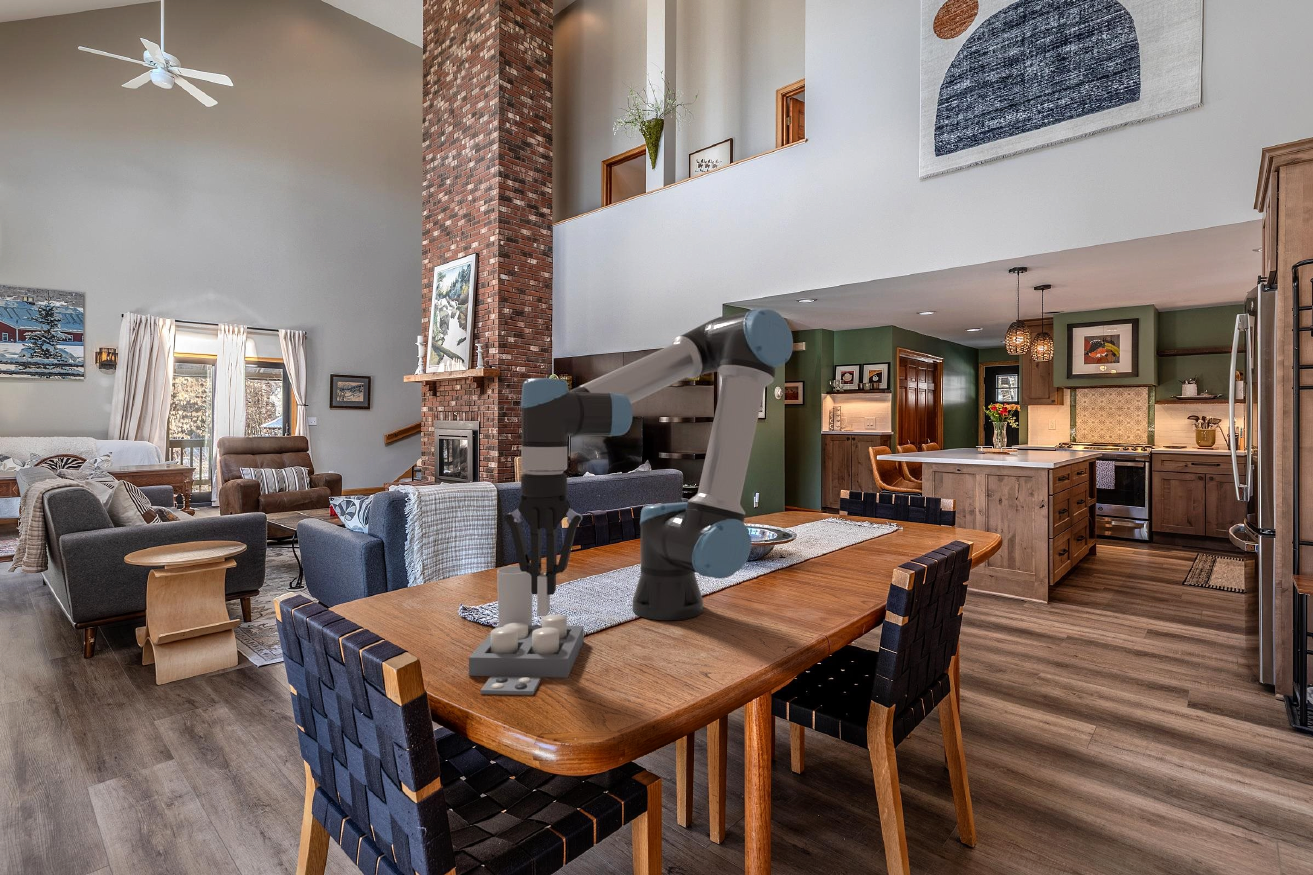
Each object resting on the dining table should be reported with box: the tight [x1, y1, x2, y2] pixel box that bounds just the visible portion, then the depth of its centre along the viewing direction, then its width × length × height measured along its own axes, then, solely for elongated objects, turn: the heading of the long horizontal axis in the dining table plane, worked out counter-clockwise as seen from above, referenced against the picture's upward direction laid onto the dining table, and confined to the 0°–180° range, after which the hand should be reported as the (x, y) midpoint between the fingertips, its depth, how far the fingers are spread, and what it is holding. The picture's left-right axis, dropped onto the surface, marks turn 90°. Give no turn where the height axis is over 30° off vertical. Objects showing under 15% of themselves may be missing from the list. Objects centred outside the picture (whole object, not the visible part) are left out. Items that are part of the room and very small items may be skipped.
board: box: [468, 624, 585, 679], centre depth 110 cm, size 16×16×3 cm
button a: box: [541, 614, 568, 639], centre depth 113 cm, size 4×4×4 cm
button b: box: [503, 623, 528, 639], centre depth 114 cm, size 4×4×4 cm
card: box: [480, 676, 542, 696], centre depth 98 cm, size 8×5×1 cm, turn 87°
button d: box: [490, 627, 518, 654], centre depth 107 cm, size 4×4×4 cm
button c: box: [532, 627, 559, 654], centre depth 106 cm, size 4×4×4 cm
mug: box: [496, 565, 533, 625], centre depth 125 cm, size 10×7×12 cm, turn 25°
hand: (543, 613), depth 106 cm, fingers closed
